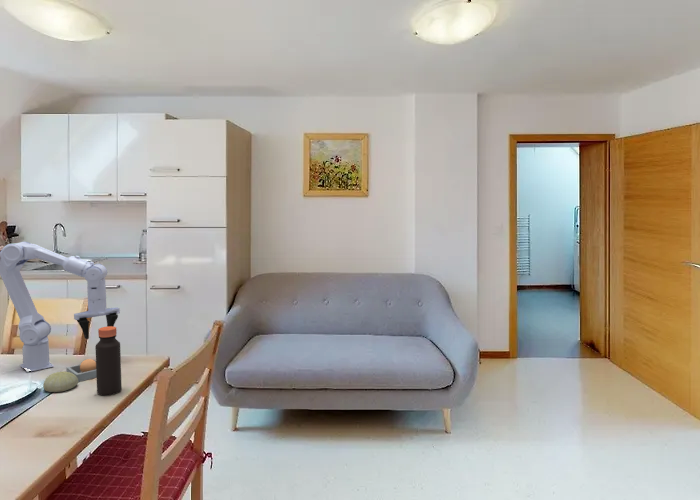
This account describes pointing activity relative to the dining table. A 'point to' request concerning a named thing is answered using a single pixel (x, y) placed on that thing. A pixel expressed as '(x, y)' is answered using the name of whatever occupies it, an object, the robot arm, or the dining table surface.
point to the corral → (81, 376)
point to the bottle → (108, 362)
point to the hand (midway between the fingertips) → (98, 336)
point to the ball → (88, 365)
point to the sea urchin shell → (60, 382)
